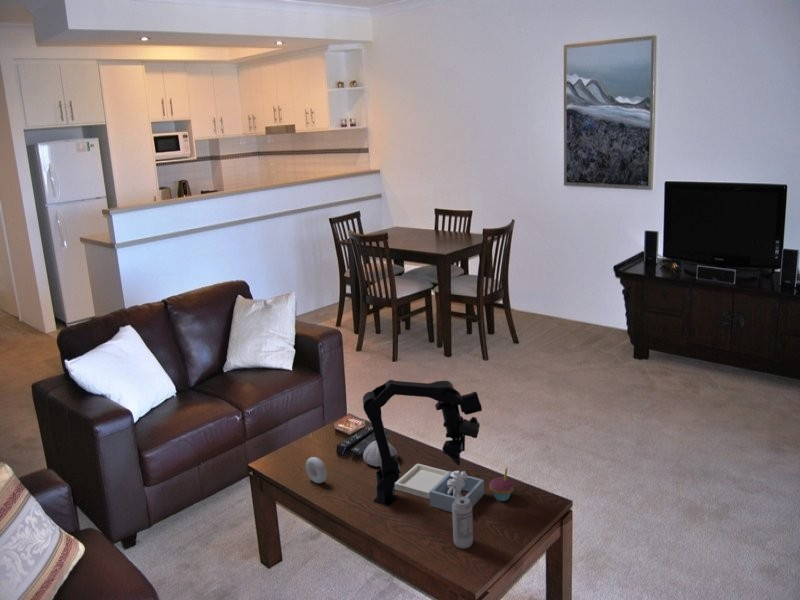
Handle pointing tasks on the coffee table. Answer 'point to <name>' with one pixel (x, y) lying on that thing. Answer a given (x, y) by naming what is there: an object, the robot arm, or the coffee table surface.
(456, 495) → the flower shoulder figurine
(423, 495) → the tray
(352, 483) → the coffee table surface
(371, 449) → the sea urchin shell
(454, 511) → the energy drink can
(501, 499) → the cupcake
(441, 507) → the deep square frame
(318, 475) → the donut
